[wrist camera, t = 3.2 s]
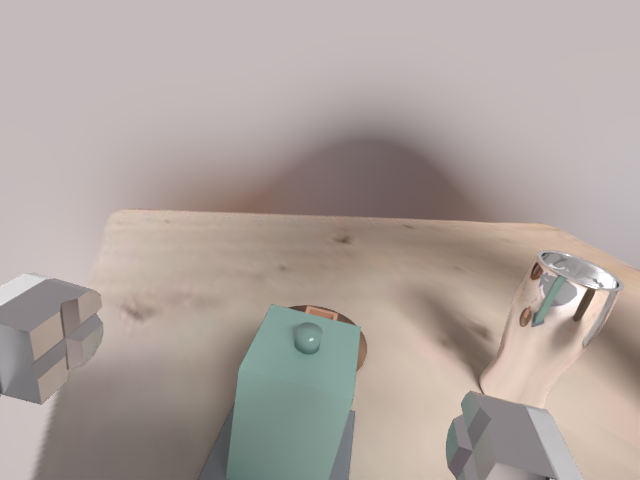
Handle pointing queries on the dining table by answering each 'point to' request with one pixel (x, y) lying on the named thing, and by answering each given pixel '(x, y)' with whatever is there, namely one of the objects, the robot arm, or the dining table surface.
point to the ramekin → (321, 313)
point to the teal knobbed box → (293, 397)
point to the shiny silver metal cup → (549, 326)
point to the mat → (218, 458)
